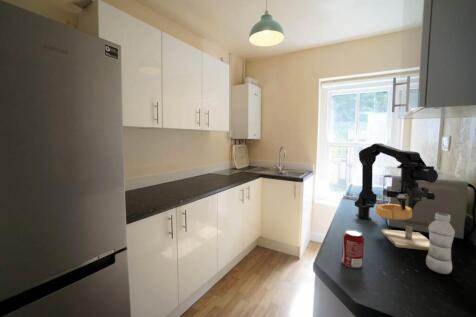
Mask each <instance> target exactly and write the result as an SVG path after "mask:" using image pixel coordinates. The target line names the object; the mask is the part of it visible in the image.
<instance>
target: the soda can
mask: <svg viewBox="0 0 476 317" xmlns="http://www.w3.org/2000/svg"><path fill="white" fill-rule="evenodd" d="M341 243H342V244H341V245H342V247H341V263H342V264H343V265H344V266H346V267H349V268H351V269H359V268H360V269H361V268H362V267H363V264H364V249H365V248H364V245H365V238H364V236H363V233H362V232H361V231H360V230H356V229H353V228H352V229H351V228H347V229H345V230H344V233H343V234H342V242H341Z"/></svg>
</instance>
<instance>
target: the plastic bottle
mask: <svg viewBox="0 0 476 317" xmlns="http://www.w3.org/2000/svg"><path fill="white" fill-rule="evenodd" d="M434 215H435V216H434V219H435V220H433V221H432V222H430V223H429V225H428V237H429V242H430V243H429V250H427V251H428V253H427V255H426V257H425V258H426V259H425V264H426V266H427V268H429V269H430V270H431V271H434V272H435V273H438V274H443V275H449V274H450V273H451V272H452V270H453V261H452V244H453V242H454V238H455V235H456V234H455V233H456V231H455V229H454V227H453V226H452V225H451V223H450V222H451V215H450V214H448V213H444V212H435V214H434Z"/></svg>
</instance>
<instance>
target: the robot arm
mask: <svg viewBox="0 0 476 317" xmlns="http://www.w3.org/2000/svg"><path fill="white" fill-rule="evenodd" d="M380 154H383V155H386V156H390V157H392V158H394V159H395V161H397V162H399V163H400V164H399V165H398V166H397V167H396V168H397V169H400V170H401V171H400V180H399V183H400V187H399V189H398V191H397V190H395V189H389V188H384V189H383V190H382V195H383V196H384V197H387V198H394V199H397V202H398V203H399V205H400V206H401V208H402V210H404V209H406V206H407V205H408V206H407V207H409V208H411V209H412V211H413V210H414V208H415V207H416V205H417V203H418V202H422V201H423V198H425V199H426V200H434V201H435V200H436V194H435V193H434V192H431V191H429V188H428V187H427V186H425V187H424V186H422V187H419V182H423V183H430V184H431V183H435V182H437V180H438V179H439V174H438V172H437V170H436V169H435V166H434V165H433V166H432V165H426V163H425V161H424V160H423V158H422V157H421V154H420V153H419V152H417V151H410V150H403V149H398V148H396V147H393V146H390V145H386V144H384V143H381V142H380V143H378V142H377V143H372V145H370V146H367V147H365V148H362V149H361V150H360V151H359V152H358V158H359V159H358V160H359V162H360V164H361V166H362V169H361V171H362V173H361V176H362V178H361V179H362V181H361V183H362V184H361V191H360V193H359V194H358V199H356V201H354V206H355V207H357V208H358V209H357V213H356V214H355V216H356V215H357V216H358V217H357V216H356V217H357V218H358V219H360V218H362V220H372V217H370V210H371V209H374V207H375V206H376V203H377V202H378V199H377V198H378V197H377V196H378V195H377V193H375V192H374V190H373V166H374V164H375V163H376V160H377V157H378V156H379V155H380ZM418 181H419V182H418ZM406 197H408V201H407V198H406ZM406 201H407V202H408V204H406Z"/></svg>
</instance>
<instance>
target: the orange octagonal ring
mask: <svg viewBox="0 0 476 317" xmlns="http://www.w3.org/2000/svg"><path fill="white" fill-rule="evenodd" d="M375 211H376V213H375V214H376V215H378V216H379V217H381V218H384V219H390V220H409V219H411V218H413V210H412V209H411V208H409V207H408V206H407V205H406V209H404V210H402V208H401V206H400V204H397V203H396V204H395V203H382V204H378V205H375Z"/></svg>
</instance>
